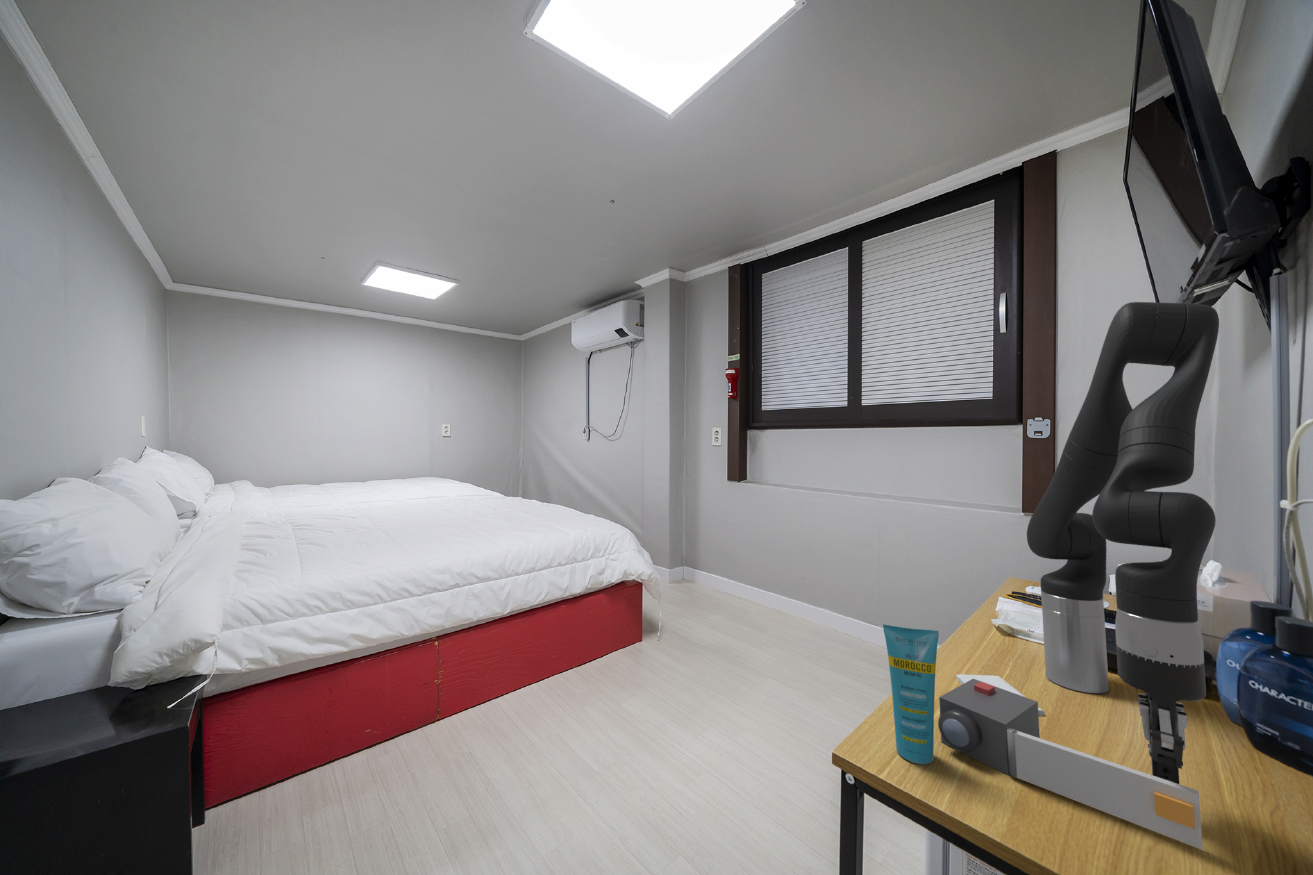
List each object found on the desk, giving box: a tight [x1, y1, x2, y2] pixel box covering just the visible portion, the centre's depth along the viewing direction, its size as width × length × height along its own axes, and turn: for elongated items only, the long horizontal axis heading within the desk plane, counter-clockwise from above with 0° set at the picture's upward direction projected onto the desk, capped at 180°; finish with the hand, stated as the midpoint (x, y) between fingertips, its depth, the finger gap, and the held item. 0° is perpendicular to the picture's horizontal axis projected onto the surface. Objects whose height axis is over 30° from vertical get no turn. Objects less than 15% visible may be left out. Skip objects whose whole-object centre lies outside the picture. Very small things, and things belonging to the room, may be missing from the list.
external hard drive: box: [955, 673, 1045, 717], centre depth 86 cm, size 2×8×12 cm
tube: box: [882, 623, 939, 765], centre depth 70 cm, size 7×5×19 cm, turn 69°
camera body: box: [937, 679, 1041, 776], centre depth 71 cm, size 13×9×8 cm
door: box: [1007, 728, 1204, 851], centre depth 58 cm, size 18×2×6 cm, turn 44°
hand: (1166, 789), depth 57 cm, fingers closed
